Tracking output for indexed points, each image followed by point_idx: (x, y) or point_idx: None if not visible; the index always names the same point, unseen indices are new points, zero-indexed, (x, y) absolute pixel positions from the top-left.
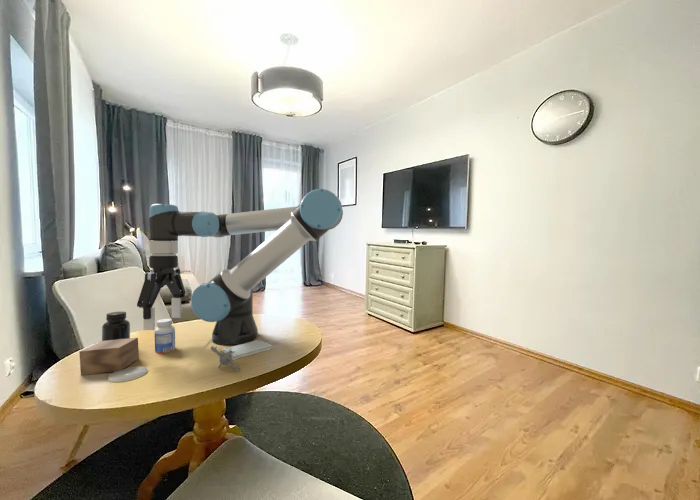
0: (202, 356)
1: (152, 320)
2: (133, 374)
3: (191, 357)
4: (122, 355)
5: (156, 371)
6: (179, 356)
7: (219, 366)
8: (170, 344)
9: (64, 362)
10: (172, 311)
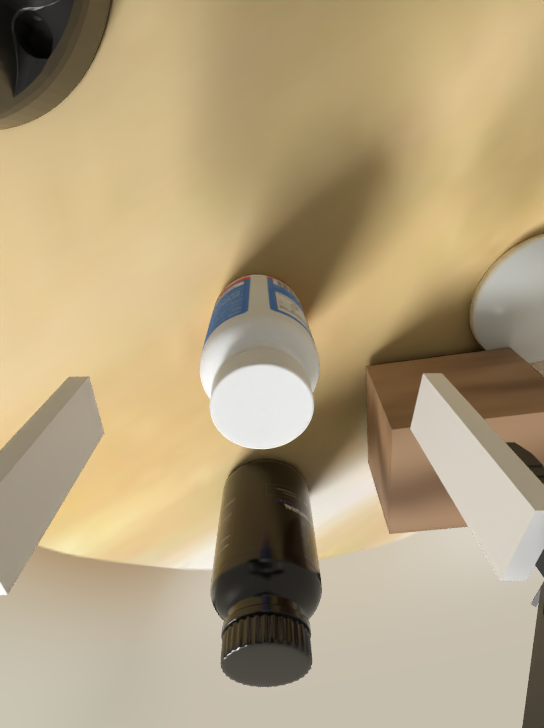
0: (347, 26)
1: (477, 419)
2: None
3: (357, 106)
4: (525, 381)
5: (519, 205)
6: (334, 196)
7: None
8: (281, 290)
9: (354, 548)
10: (81, 462)
